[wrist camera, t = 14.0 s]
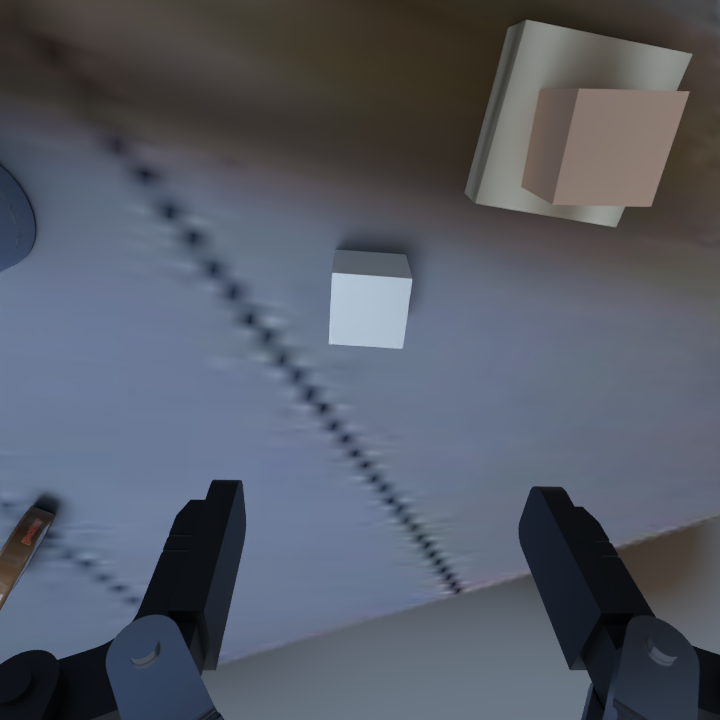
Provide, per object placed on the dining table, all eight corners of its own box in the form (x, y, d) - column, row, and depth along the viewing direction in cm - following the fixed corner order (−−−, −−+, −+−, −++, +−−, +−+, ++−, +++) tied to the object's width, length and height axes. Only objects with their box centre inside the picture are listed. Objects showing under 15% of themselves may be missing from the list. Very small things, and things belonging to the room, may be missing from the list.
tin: (40, 490, 49) (-15, 559, 42) (69, 502, 50) (20, 572, 43) (3, 562, 55) (-51, 633, 48) (30, 571, 56) (-20, 643, 49)
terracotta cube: (520, 186, 30) (552, 204, 25) (539, 89, 27) (578, 88, 22) (604, 188, 30) (650, 206, 25) (631, 91, 27) (689, 91, 22)
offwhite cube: (332, 313, 38) (328, 343, 34) (335, 249, 36) (332, 272, 31) (397, 317, 39) (402, 348, 34) (405, 254, 36) (412, 278, 31)
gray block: (463, 191, 34) (475, 203, 30) (506, 28, 29) (526, 19, 25) (590, 213, 35) (616, 227, 31) (653, 58, 30) (692, 54, 26)
